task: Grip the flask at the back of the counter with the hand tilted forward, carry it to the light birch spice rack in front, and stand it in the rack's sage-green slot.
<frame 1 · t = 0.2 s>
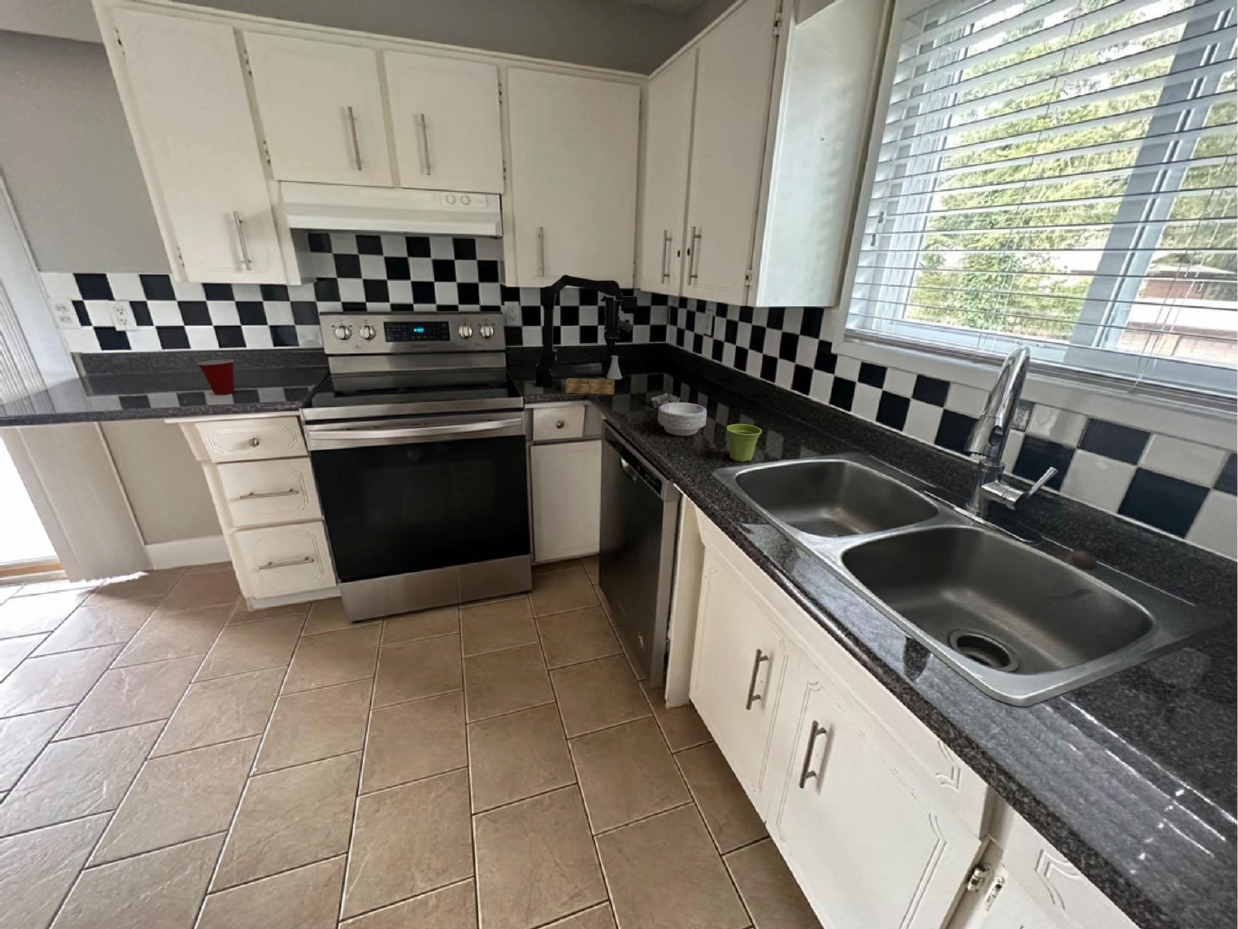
hand: (611, 352, 208), 15 cm above the worktop, tool pointing down, fingers open, 9 cm apart
plant pot: (740, 458, 141), on the worktop
egg carton: (665, 406, 189), on the worktop
plastic cup: (224, 393, 184), on the worktop
flask: (614, 378, 229), on the worktop
spice rack: (590, 390, 206), on the worktop
paper bowls: (680, 432, 161), on the worktop
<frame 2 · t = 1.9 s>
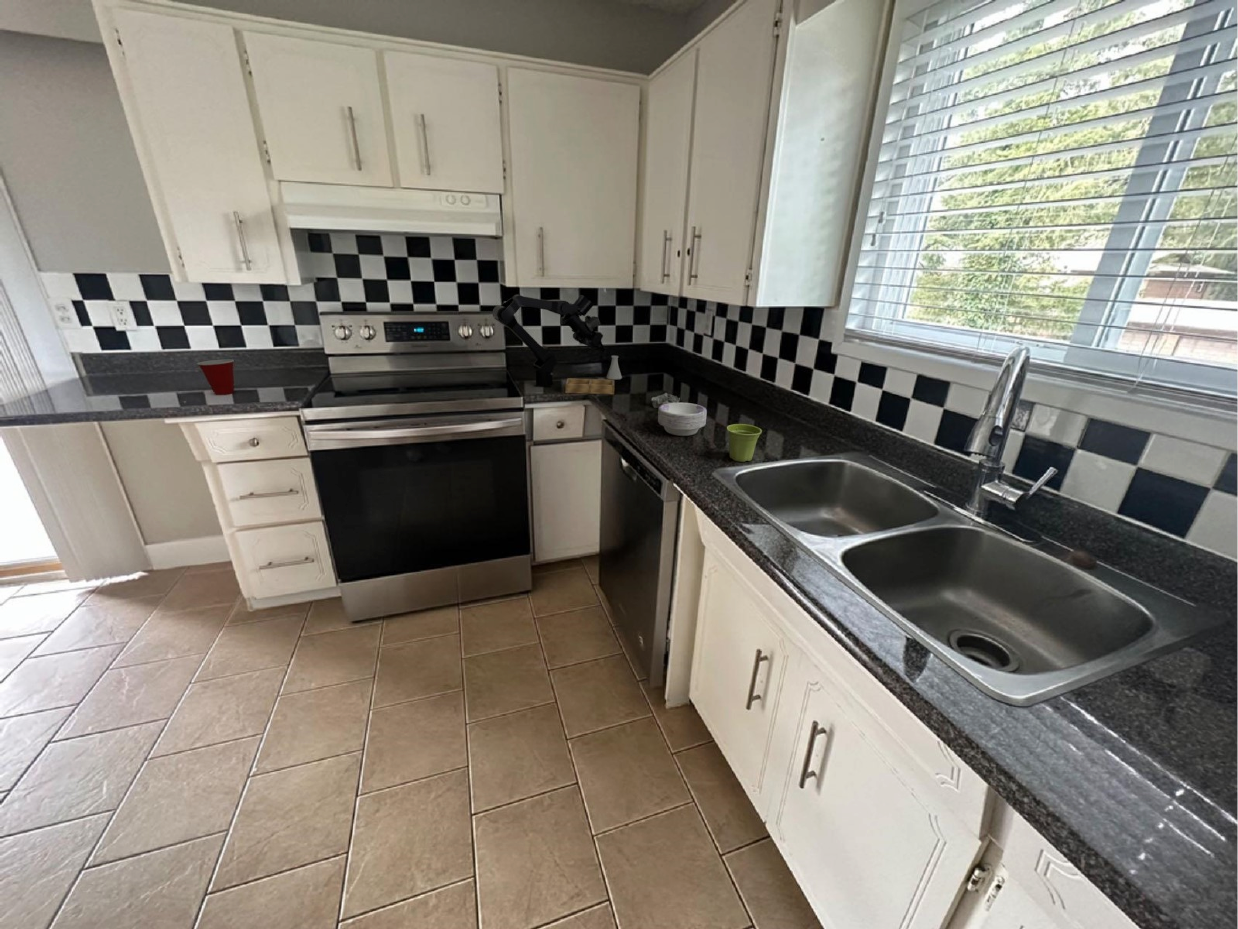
hand: (599, 349, 220), 13 cm above the worktop, tool tilted 45°, fingers open, 9 cm apart
nothing on the worktop moved.
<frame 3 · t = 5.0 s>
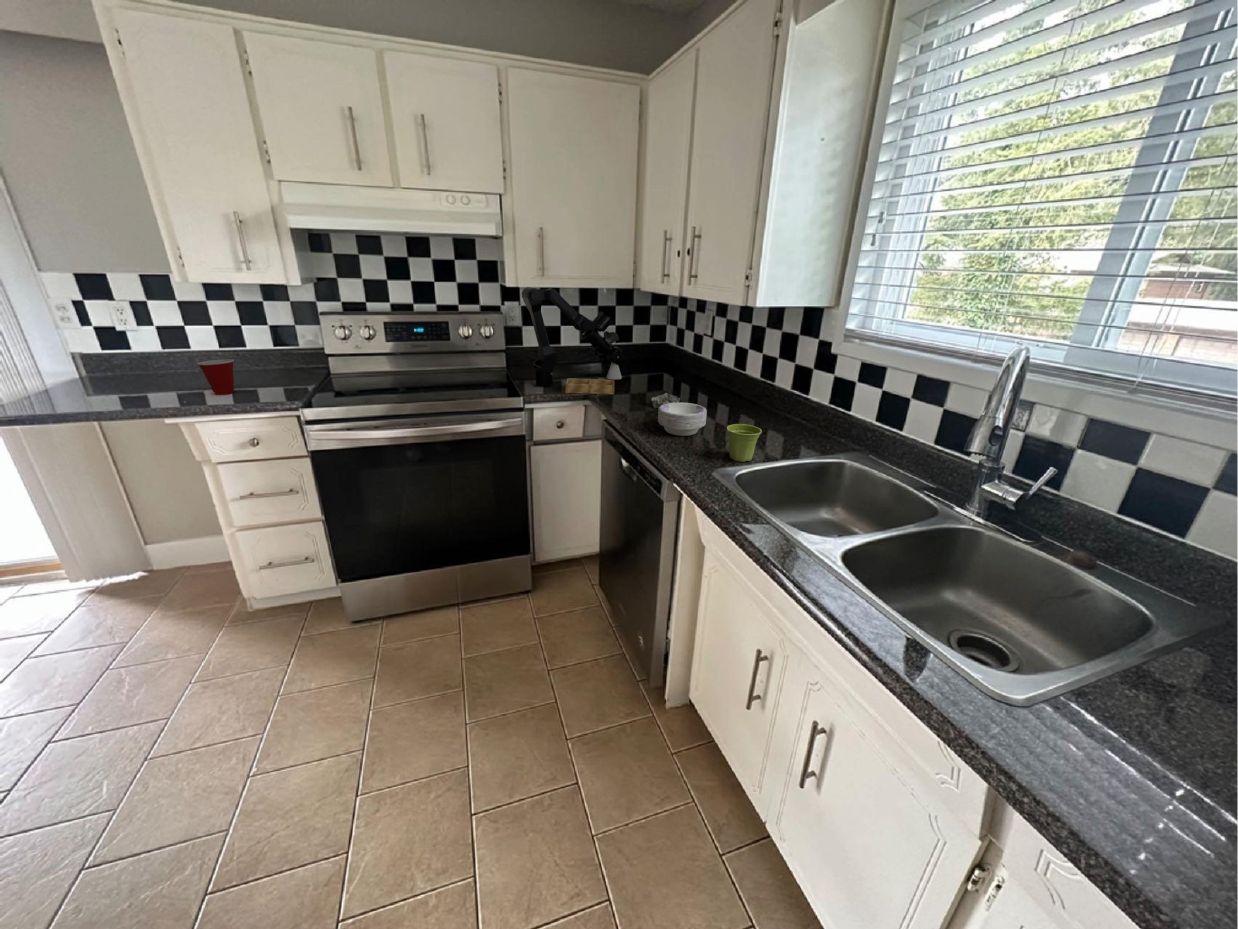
hand: (617, 363, 227), 7 cm above the worktop, tool tilted 45°, fingers closed on flask, 3 cm apart
flask: (614, 378, 229), on the worktop, touching gripper
everything else where it was.
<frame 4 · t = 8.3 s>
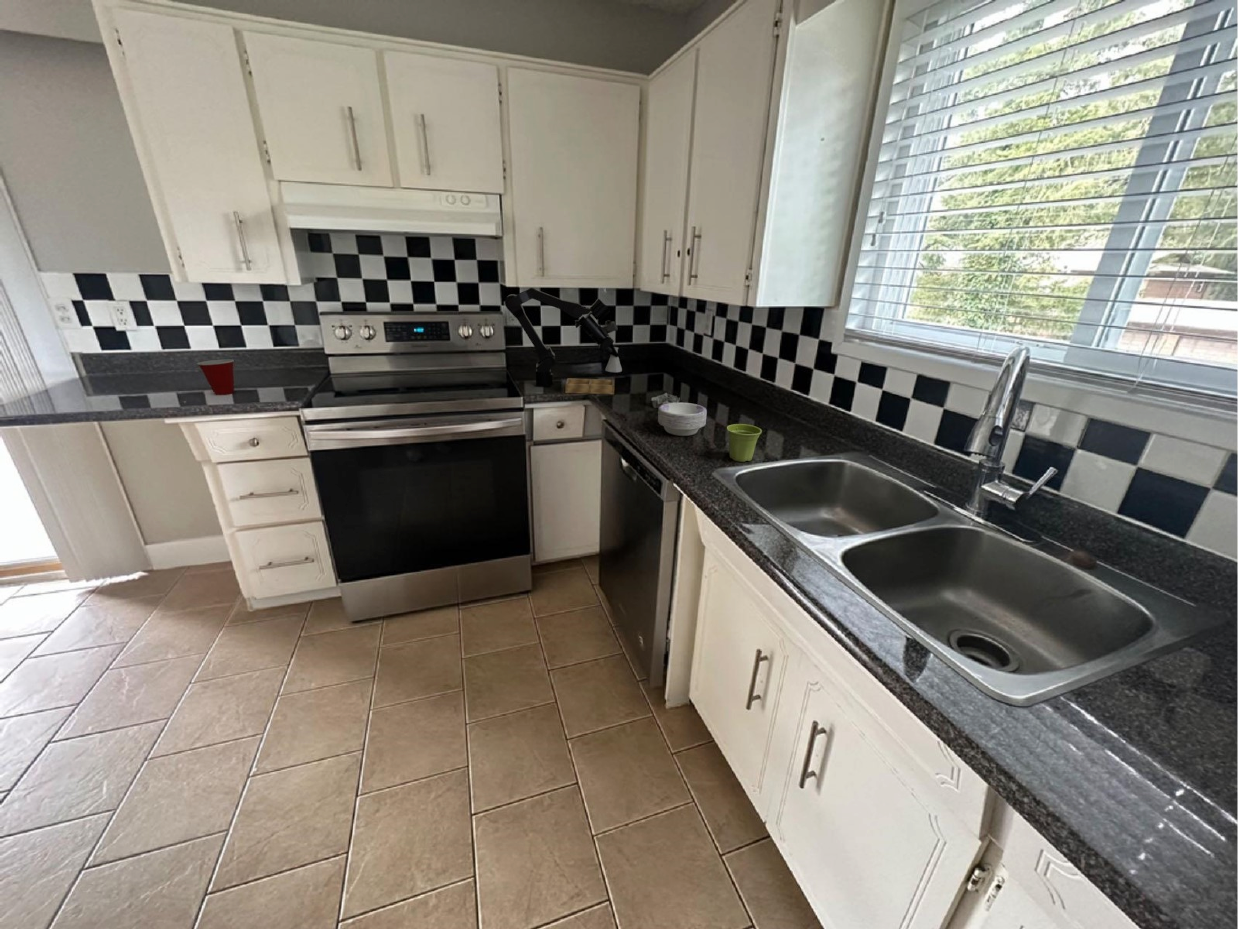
hand: (617, 355, 212), 13 cm above the worktop, tool tilted 45°, fingers closed on flask, 3 cm apart
flask: (613, 371, 214), point 6 cm above the worktop, touching gripper
everything else where it was.
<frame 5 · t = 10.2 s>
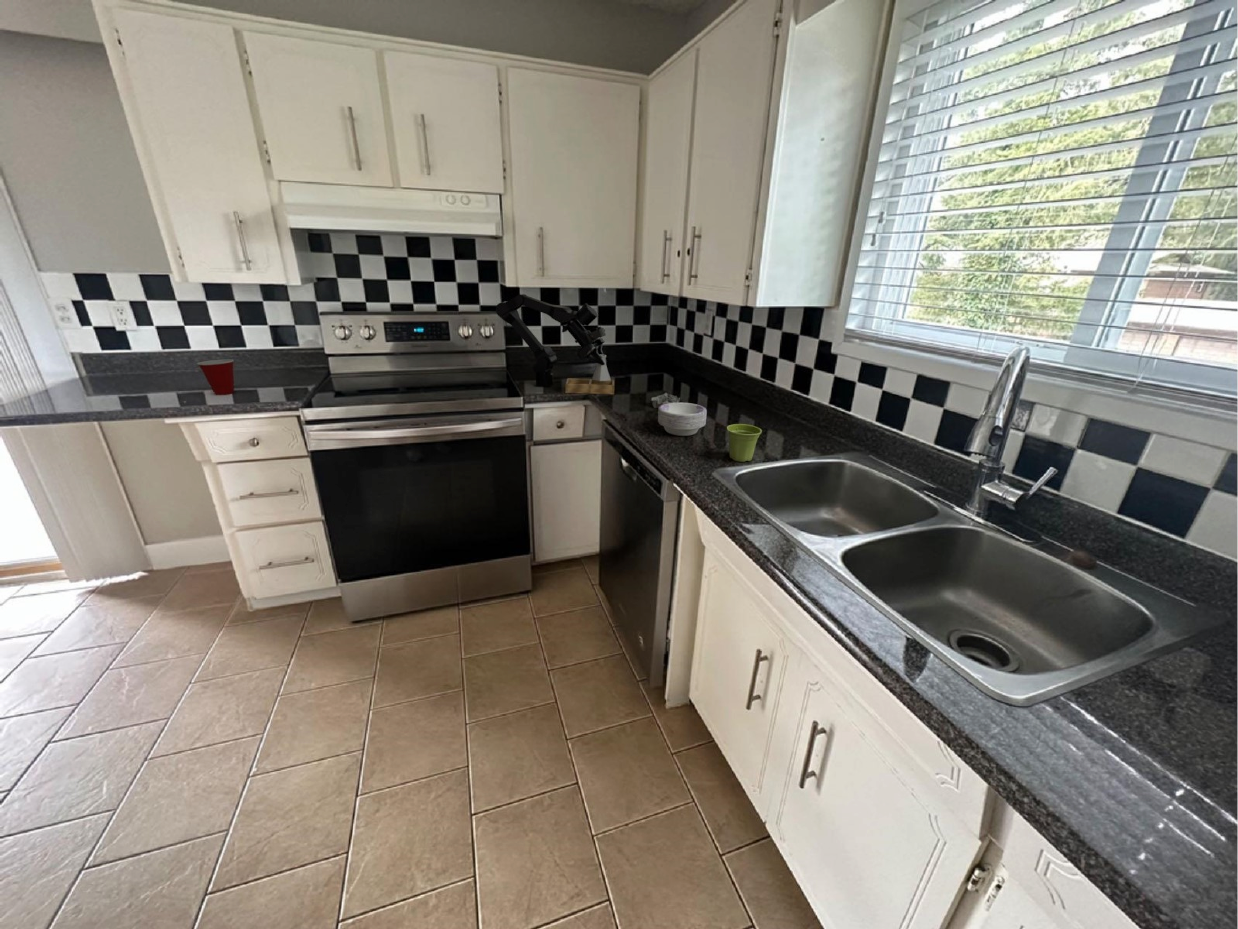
hand: (605, 363, 202), 11 cm above the worktop, tool tilted 45°, fingers closed on flask, 3 cm apart
flask: (601, 380, 205), point 4 cm above the worktop, touching gripper
everything else where it was.
when the fingers open (7 cm above the worktop, at t = 11.6 s): flask stays where it is, resting on spice rack.
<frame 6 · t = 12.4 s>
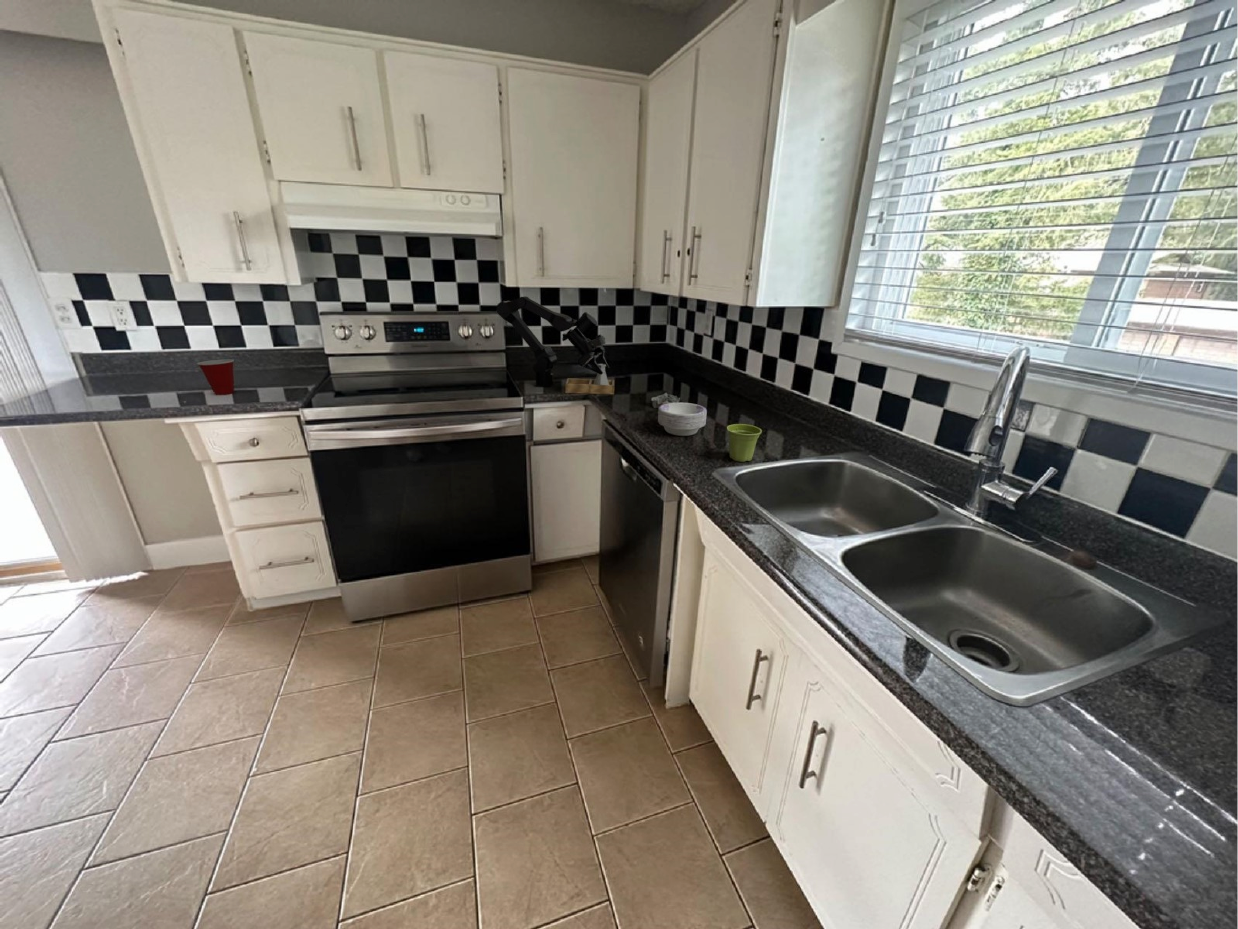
hand: (605, 371, 203), 8 cm above the worktop, tool tilted 45°, fingers open, 9 cm apart
flask: (601, 389, 206), point 1 cm above the worktop, touching spice rack
everything else where it was.
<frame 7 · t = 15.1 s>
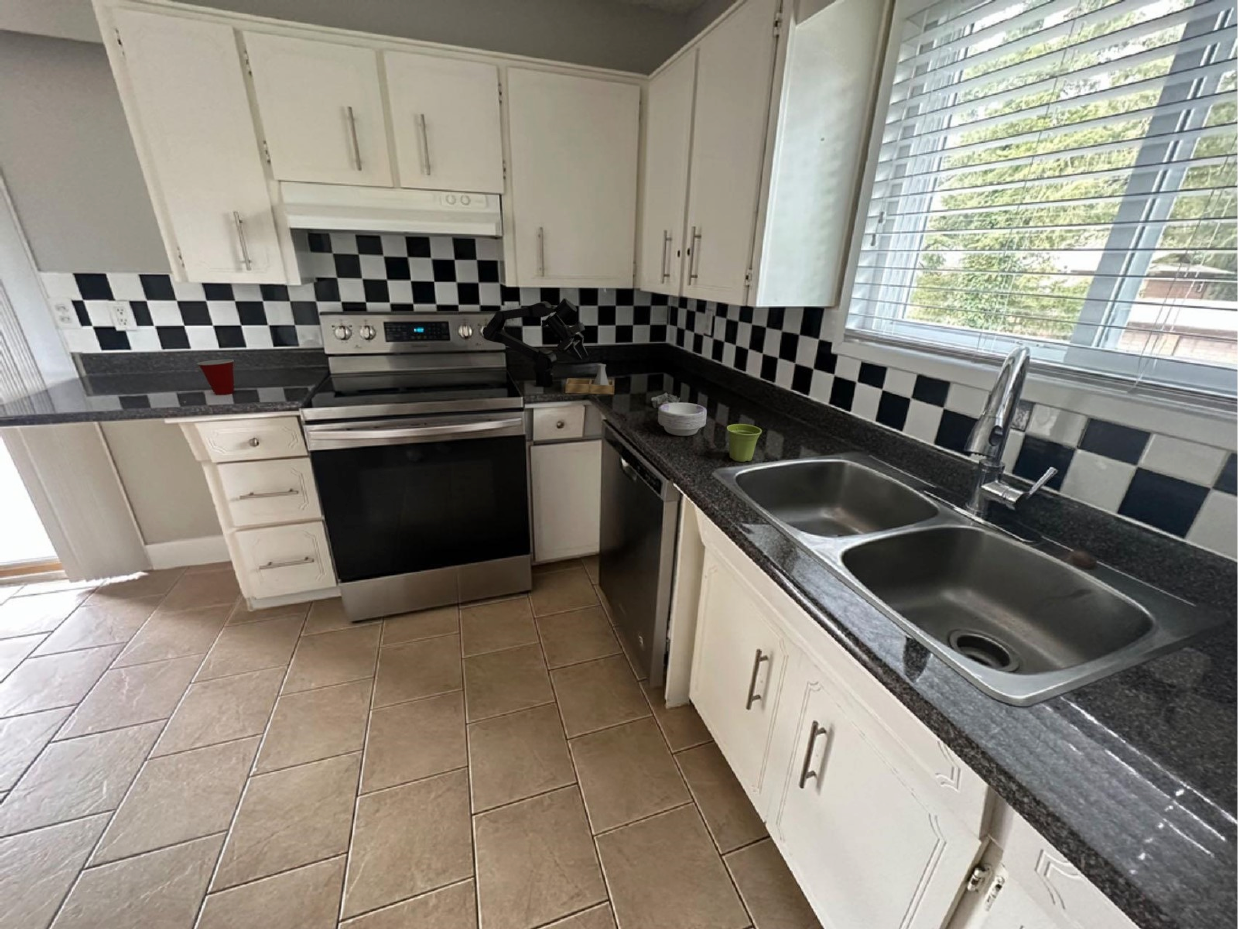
hand: (584, 358, 204), 13 cm above the worktop, tool tilted 45°, fingers open, 9 cm apart
nothing on the worktop moved.
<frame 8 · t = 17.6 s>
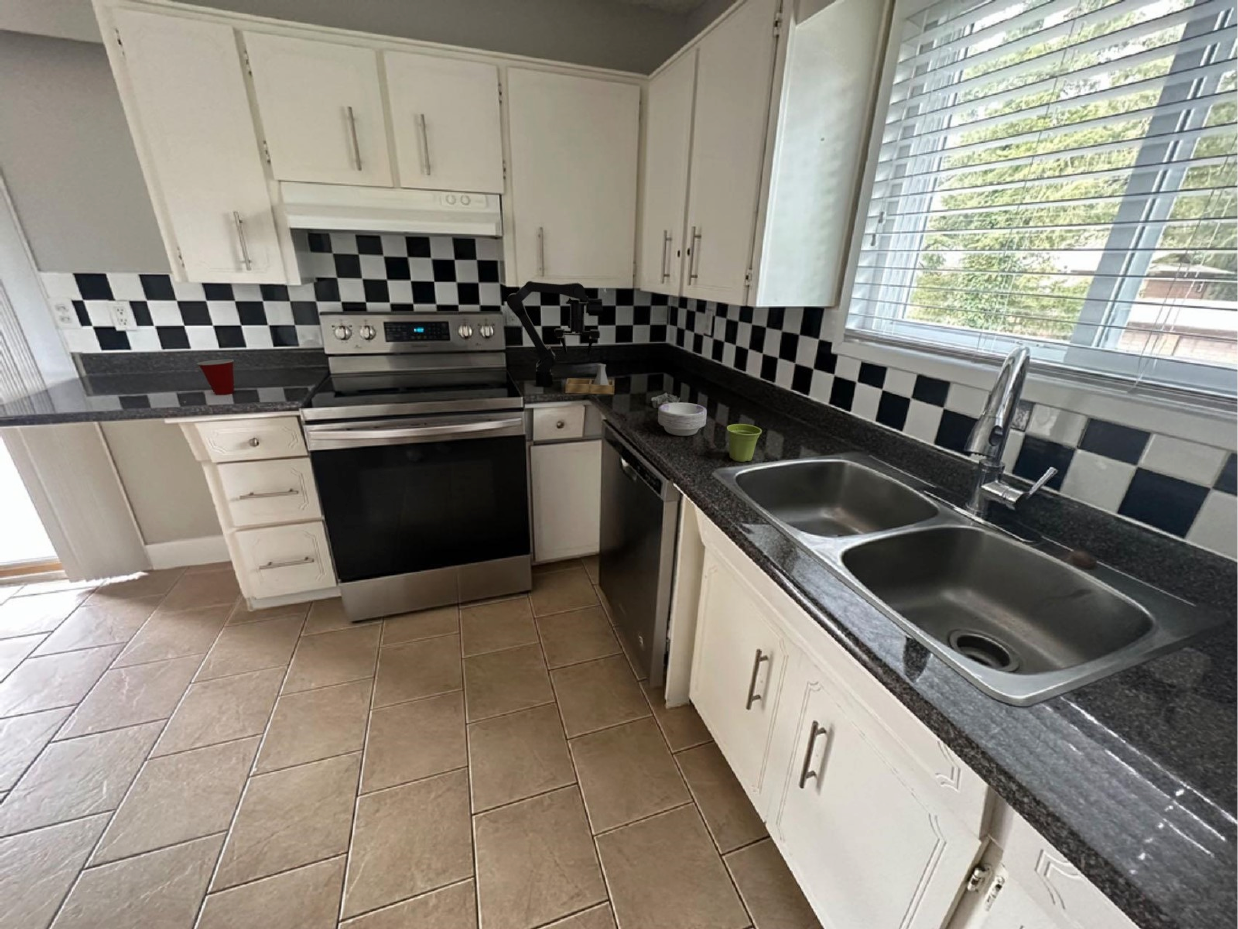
hand: (577, 354, 209), 13 cm above the worktop, tool pointing down, fingers open, 9 cm apart
nothing on the worktop moved.
at the end: flask 0.1 cm from the target spot in the spice rack, point 0.6 cm above the spice rack's base; flask tilted 0°; the gripper is holding nothing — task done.
